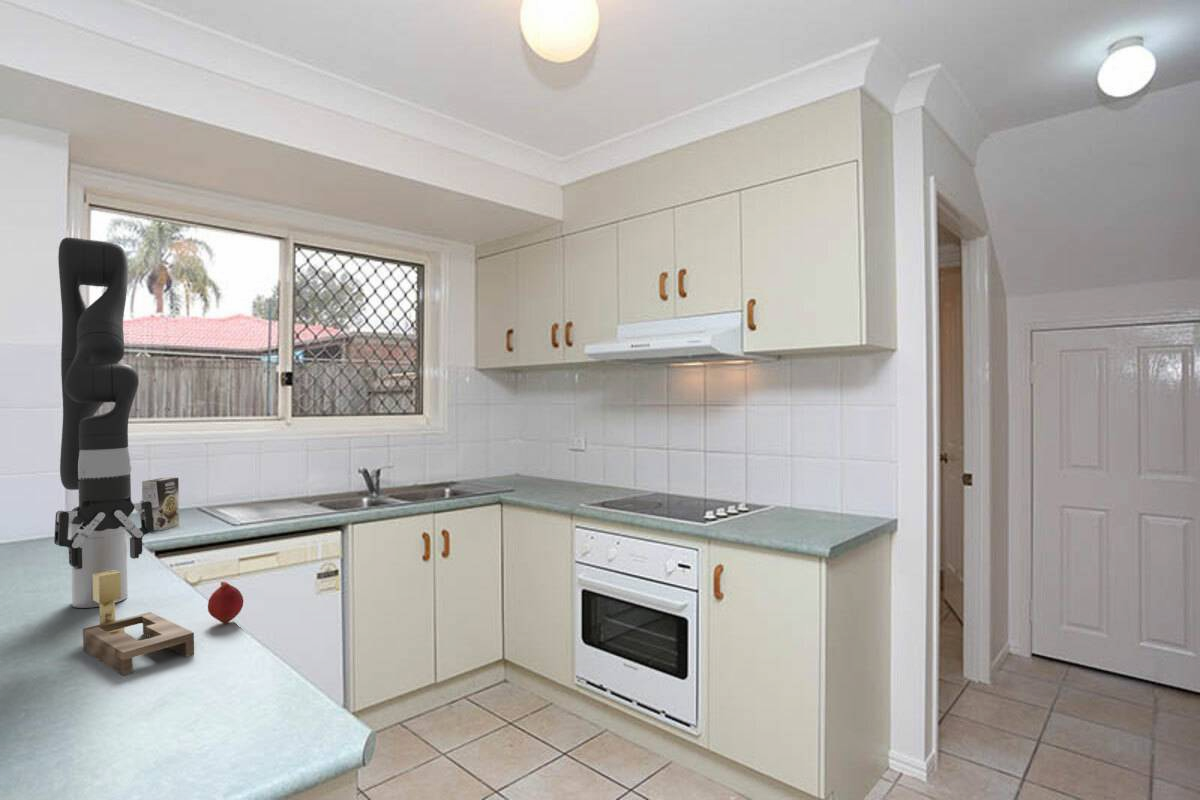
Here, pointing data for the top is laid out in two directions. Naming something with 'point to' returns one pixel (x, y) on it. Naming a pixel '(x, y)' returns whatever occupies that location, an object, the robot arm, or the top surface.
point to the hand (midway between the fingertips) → (106, 563)
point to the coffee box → (162, 501)
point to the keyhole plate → (135, 640)
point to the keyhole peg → (107, 595)
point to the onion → (225, 603)
